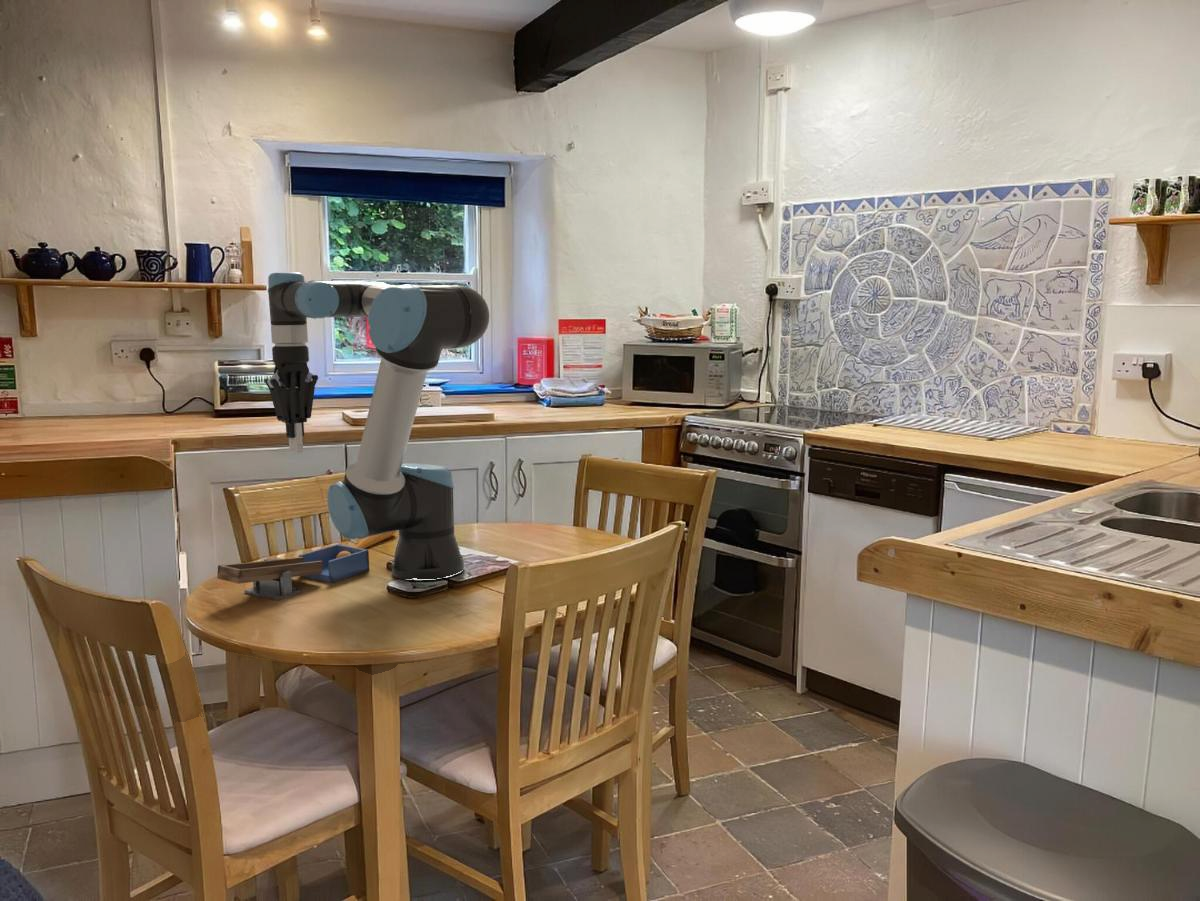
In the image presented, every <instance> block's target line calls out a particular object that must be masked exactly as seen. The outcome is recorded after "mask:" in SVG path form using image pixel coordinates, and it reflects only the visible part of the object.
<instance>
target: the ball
mask: <svg viewBox="0 0 1200 901" xmlns="http://www.w3.org/2000/svg"><path fill="white" fill-rule="evenodd" d="M350 554H351V553H350V552H348V551H342V552H340V553H339V554H338V555H337V557H336V559H337V558H340V557H344V556H347V555H350Z"/></svg>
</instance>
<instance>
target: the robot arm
mask: <svg viewBox="0 0 1200 901" xmlns="http://www.w3.org/2000/svg"><path fill="white" fill-rule="evenodd" d="M267 280H268V282H267V283H268V284H267V285H268V288H267V294H268V305H269V317H270V318H269V320H270V334H271V343H272V344H274V346H272V348H271V352H272V353H271V354H272V363H274V365H275V366H274V370H273V375H271V377H270V378H265V380H264V383H265V385H266V387H267V388H268V390H269V392H270V397H271V399H272V405H273V408H274V413H275V415H276V419H277V421H279V422H282V423H284V424H285V435H286V438H288V448H289V450H288V451H289V453H296V454H300V453H304V444H303V443H304V442H303V441H304V440H303V437H304V436H305V425H304V423H307V422H308V419H311V417H312V411H313V404H314V397H315V388H316V384H317V382H318V380H319V376H318V375H317V374H313V373H311V372H310V368H309V367H308V362H309V361H310V353H309V347H308V346H307V345H306V344H307V343H308V342H309V337H308V335H309V334H308V322H307V321H308V320H307V319H310V318H311V319H315V320H316V319H325V318H347V317H348V318H350V317H353V318H354V317H356V318H358V317H359V318H367V325H368V326H369V329H368V335H369V339H370V340H371V343H372V345H374V348H375V350H374V351H375V352H376V354H377V356H378V357H379V359H380V364H379V368H378V371H377V376H376V380H375V384H374V387H373V391H372V396H371V399H370V405H369V408H368V413H367V415H366V416H367V417H366V420H365V424H364V425H365V426H364V429H363V433H362V436H361V441H360V446H359V448H358V449H359V450H358V454H357V457H356V460H354V461H352V462H351V463H349V464H348V465H347V467H346V470H345V472H344V473H345V474H344V478H343V480H342V481H335V482H334V483H332V484H331V485H330V486H329V487H328V490H327V496H326V501H327V509H328V514H329V515H330V519H331V522H332V523H333V525H334V527H335V529H336V530H337V531H338V533H339V534H340V535H341V536H343V537H345V538H346V539H348V540H354V539H355V540H356V539H364V538H366V537H369V536H373V535H378V534H382V533H387V532H392V531H398V540H397V544H396V548H395V552H394V558H393V559H392V562H391V575H392V577H394V578H396V579H399V580H402V579H412V578H417V579H437V578H442V577H446V576H450V575H453V574H456V573H458V572H460V571H462V570H463V568H464V569H465V566H464V564H465V561H464V557H463V555H462V554H461V552H460V548H459V544H458V542H457V538H456V535H455V516H454V515H455V513H454V511H455V510H454V489H455V486H454V483H453V473H452V471H451V470H450V469H449V468H447V467H446V466H443V465H436V464H427V463H426V464H425V463H403V461H404V458H405V454H406V451H407V447H408V444H409V439H410V436H411V432H412V430H413V429H412V428H413V425H414V421H415V418H416V415H417V411H418V407H419V402H420V399H421V395H422V392H423V388H424V384H425V382H426V381H425V380H426V377H427V373H428V372H429V371H432V370H434V369H435V368H436V367H437V366H438V364H439V361H440V356H441V354H442V351H443V350H449V349H460V348H461V349H462V348H466V347H468V346H471V345H473V344H474V343H477V342H478V341H479V340H480V339H481V338H482V337H483V336H484V334H485V333H486V331H487V329H488V327H489V324H490V323H489V322H490V311H489V306H488V304H487V302H486V300H485V298H484V297H483V296H482V295H481V294H480V293H479V292H478V291H476V290H475V289H473V288H471V287H467V286H464V285H459V284H452V285H451V284H449V285H447V284H446V285H445V284H444V285H442V284H441V285H429V284H428V285H427V284H426V285H425V284H422V285H421V284H420V285H419V284H417V285H416V284H412V283H407V284H406V283H404V284H401V285H391V284H387V282H380V281H373V280H372V281H371V280H370V281H326V280H325V281H323V280H309V281H305V276H304V275H303V274H302V273H301V272H272V273H270V274H269V275H268V277H267Z"/></svg>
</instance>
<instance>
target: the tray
mask: <svg viewBox="0 0 1200 901" xmlns="http://www.w3.org/2000/svg"><path fill="white" fill-rule="evenodd" d="M355 547H356V546H350V545H343V544H340V543H339V544H338V543H337V544H332V545H330V546H326V547H323V548H319V549H318V548H317V549H315V550H312V551H309V552H308V551H307V552H305V553H302V554H298V557H304V563H305V562H314V561H323V565H322V573H321V574H313V575H305V576H302V577H303V578H308V579H313V580H317V581H322V582H326V583H330V584H331V583H334V582H338V581H342V580H343V579H347V578H350V577H354V576H356V575H359V574H362V573H365V572H368V571H370V557H369V554H370V552H369V549H367V548H365V549H361V548H355ZM342 551H348V552H350V553H351V554H350V555H347V556H344V557H340V558H337V559H336V557H337V555H338V554H339V553H340V552H342Z"/></svg>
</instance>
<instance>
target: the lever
mask: <svg viewBox="0 0 1200 901" xmlns="http://www.w3.org/2000/svg"><path fill="white" fill-rule="evenodd" d="M322 565H323V561H314V562H305V563H304V557H299V556H297V557H288V558H280V557H276V558H266V559H263V560H259V561H251V562H240V563H239V562H238V563H229V564H219V565H217V575H216V576H217V577H216V578H217V579H218V580H222V581H226V582H230V583H234V584H246V583H253V582H256V581H264V580H272V579H280V573H283V572H287V571H290V572H291V578H296V577H303V576H305V575H313V574H321V573H322Z"/></svg>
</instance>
